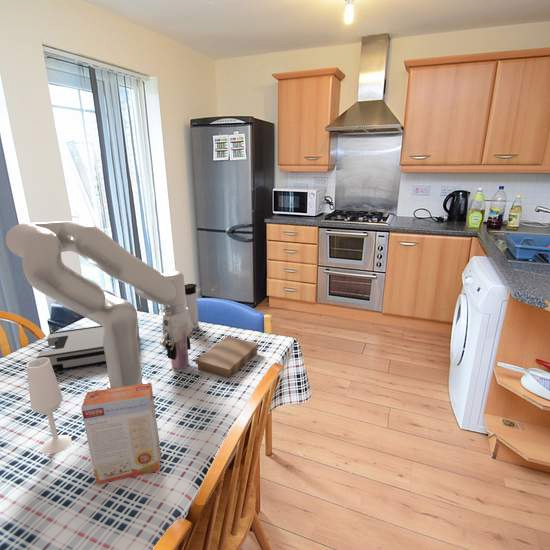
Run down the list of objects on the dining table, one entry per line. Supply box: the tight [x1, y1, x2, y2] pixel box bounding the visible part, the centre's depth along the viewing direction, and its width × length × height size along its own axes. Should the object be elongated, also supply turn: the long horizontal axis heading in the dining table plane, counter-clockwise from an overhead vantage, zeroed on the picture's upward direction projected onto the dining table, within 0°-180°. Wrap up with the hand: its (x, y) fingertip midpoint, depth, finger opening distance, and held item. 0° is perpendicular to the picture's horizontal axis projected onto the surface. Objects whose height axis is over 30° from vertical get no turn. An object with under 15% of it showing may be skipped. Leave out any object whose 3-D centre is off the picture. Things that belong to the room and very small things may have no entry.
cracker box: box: [80, 382, 162, 484], centre depth 83 cm, size 14×6×21 cm, turn 104°
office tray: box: [36, 317, 140, 372], centre depth 137 cm, size 21×32×8 cm, turn 110°
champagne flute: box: [25, 357, 72, 455], centre depth 90 cm, size 7×7×24 cm
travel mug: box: [185, 283, 200, 332], centre depth 156 cm, size 6×7×20 cm
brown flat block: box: [194, 335, 260, 380], centre depth 131 cm, size 20×14×4 cm
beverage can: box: [169, 329, 190, 370], centre depth 127 cm, size 6×6×15 cm
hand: (179, 353), depth 128 cm, fingers open, 7 cm apart
